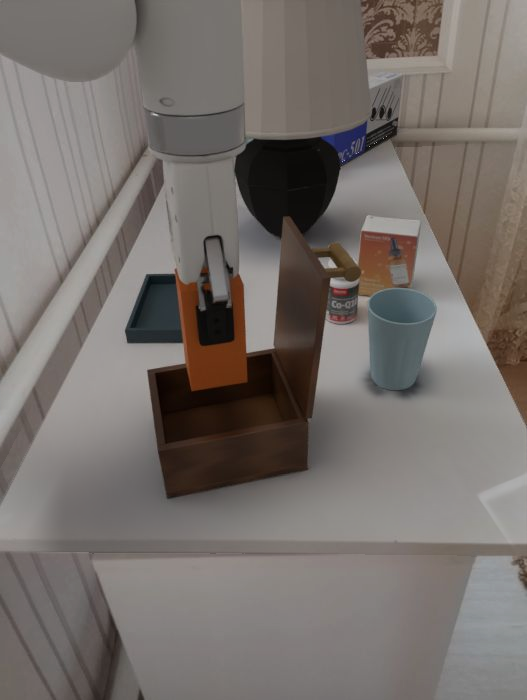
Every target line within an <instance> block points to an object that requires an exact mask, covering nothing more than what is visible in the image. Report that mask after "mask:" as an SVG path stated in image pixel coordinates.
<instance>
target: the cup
mask: <svg viewBox="0 0 527 700" xmlns="http://www.w3.org/2000/svg"><path fill="white" fill-rule="evenodd" d="M366 307H367V308H366V309H367V324H368V325H367V326H368V348H369V349H368V350H369V369H370V370H369V371H370V379H371V380H372V382H374V384H375V385H377V386H378V387H380V388H382V389H385V390H387V391H388V390H389V391H403V390H407V389H410V388H411V387H412V386H414V384H415V383H416V381H417V378H418V375H419V371H420V369H421V365H422V361H423V358H424V354H425V352H426V347H427V345H428V341H429V338H430V334H431V331H432V328H433V325H434V321H435V318H436V315H437V311H438V306H437V303H436V302H435V300H434V299H433V298H432V297H430V296H429V295H427V294H426V293H424V292H422V291H419V290H416V289H413V288H411V289H407V288H389V289H384V290H381V291H378V292H376V293H374V294H373V295H372V296H369V298H368V300H367V302H366Z"/></svg>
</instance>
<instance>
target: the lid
mask: <svg viewBox="0 0 527 700" xmlns="http://www.w3.org/2000/svg"><path fill="white" fill-rule="evenodd" d="M303 235H304V234H301V233H300V231H299V230H298V228H297V227H296V225H295V224H294V222H293V221H292V219H291V218H290V216H287V217H283V226H282V237H281V241H280V253H279V254H280V255H279V266H278V267H279V268H278V281H277V295H276V307H275V320H274V334H273V347H274V348H275V349H276V352H277V354H278V356H279V359H280V361H281V363H282V366H283V368H284V370H285V372H286V375H287V377H288V379H289V382H290V384H291V386H292V389H293V391H294V393H295V396H296V398H297V400H298V402H299V405H300V407H301V409H302V412H303V414H304V416H305V419H312V418H313V414H314V408H315V407H314V406H315V400H316V392H317V385H318V378H319V377H318V376H319V369H320V363H321V362H320V361H321V356H322V355H321V353H322V346H323V339H324V331H325V324H326V310H327V303H328V295H329V288H330V280H331V278H338V277H344V278H345V279H346V280H347V281H349V282H353V281H356V280H357V279H358V278H359V277H360V275H361V269H360V268H359V267H358V265H357V264H356V263H355V261H354V260H353V259H352V258H353V257H352V256H351V255H350V254H349V252H348V251H347V250H346V248H345V247H344V245H342V243H340V242H338V241H335V242H332V243H330V244H329V245H328V247H317V248H311V245H310V244H309V243H308V241H307V240H306V238H305V237H304V236H303ZM322 258H330V259H331V260H332V261H333V262H334V264H335V265H336V267H337V268H328V267H327V268H326V267H325V266H324V265H323V264H322V262H321V260H319V259H322Z"/></svg>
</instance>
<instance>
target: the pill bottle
mask: <svg viewBox="0 0 527 700" xmlns="http://www.w3.org/2000/svg"><path fill="white" fill-rule="evenodd" d="M351 258H352V259H353V260H354V261H355V263H356V264H357V265H358V260H356V259H355V258H354V257H351ZM327 268H337V267H336V265H335V264H334V262H333V261H332V260H331V258H330V259H329V260H328V261H327ZM358 292H359V278H358V279H357V280H356V281H353V282H349V281H347V280H346V279H345V278H344V277H338V278H331V280H330V288H329V295H328V303H327V310H326V318H325V320H327V321H328V322H330V323H333V324H336V325H337V324H338V325H343V324H344V325H345V324H350V323H352V322H353V321H355V319H356V318H357V316H358V315H357V314H358V306H359V305H358V304H359V294H358Z"/></svg>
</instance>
